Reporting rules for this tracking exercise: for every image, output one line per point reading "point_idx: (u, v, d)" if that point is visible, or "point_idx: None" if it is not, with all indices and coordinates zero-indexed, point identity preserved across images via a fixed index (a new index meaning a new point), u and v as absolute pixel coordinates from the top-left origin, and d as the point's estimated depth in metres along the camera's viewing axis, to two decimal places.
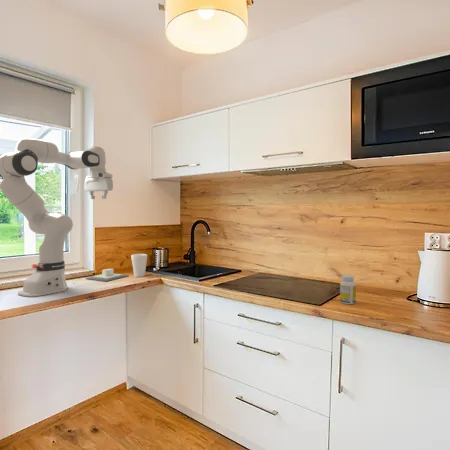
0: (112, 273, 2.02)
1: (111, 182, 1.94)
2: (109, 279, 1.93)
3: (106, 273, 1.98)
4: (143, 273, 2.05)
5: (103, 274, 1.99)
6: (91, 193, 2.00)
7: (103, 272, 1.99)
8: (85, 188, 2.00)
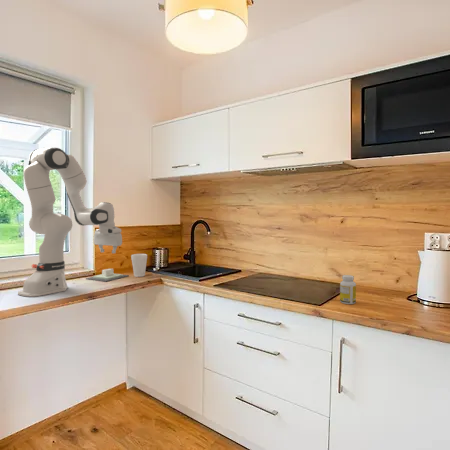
0: (112, 273, 2.02)
1: (120, 237, 1.97)
2: (109, 279, 1.93)
3: (106, 273, 1.98)
4: (143, 273, 2.05)
5: (103, 274, 1.99)
6: (100, 246, 2.03)
7: (103, 272, 1.99)
8: (94, 242, 2.03)
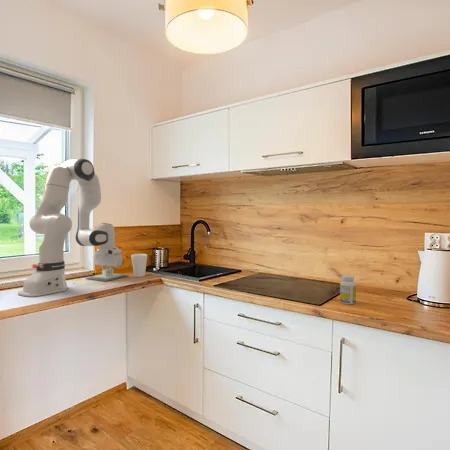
0: (112, 273, 2.02)
1: (120, 258, 1.97)
2: (109, 279, 1.93)
3: (106, 273, 1.98)
4: (143, 273, 2.05)
5: (103, 274, 1.99)
6: (103, 267, 2.02)
7: (103, 272, 1.99)
8: (94, 262, 2.03)
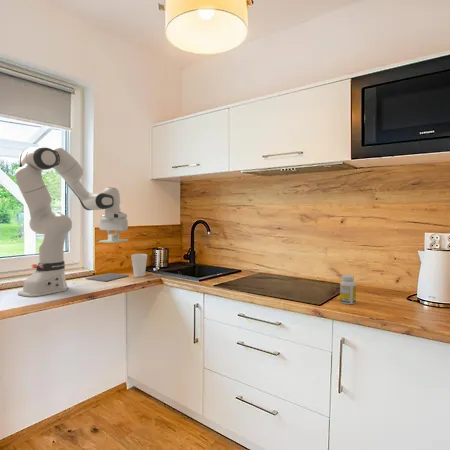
0: (118, 238, 2.03)
1: (126, 222, 1.97)
2: (109, 279, 1.93)
3: (112, 237, 1.99)
4: (143, 273, 2.05)
5: (109, 238, 1.99)
6: (109, 232, 2.03)
7: (109, 236, 1.99)
8: (100, 227, 2.03)
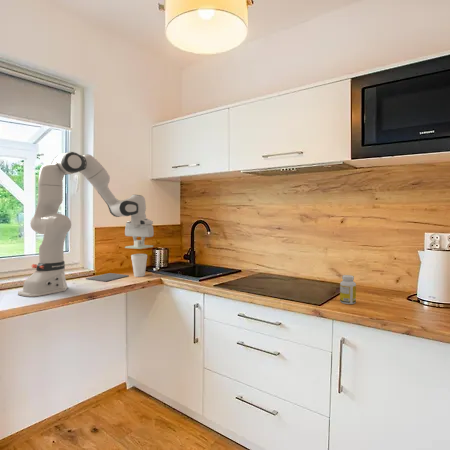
0: (143, 244, 2.07)
1: (152, 229, 2.02)
2: (109, 279, 1.93)
3: (138, 243, 2.03)
4: (143, 273, 2.05)
5: (135, 244, 2.03)
6: (135, 238, 2.07)
7: (135, 242, 2.03)
8: (126, 233, 2.08)
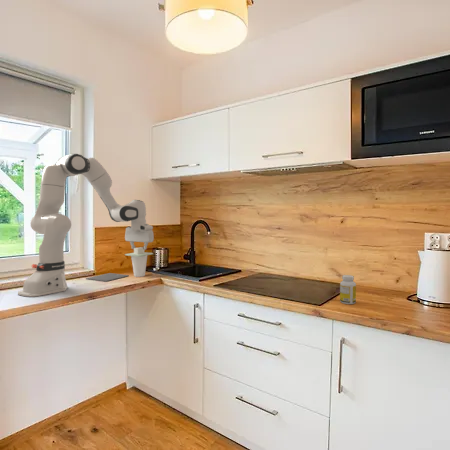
0: (143, 251, 2.07)
1: (152, 234, 2.02)
2: (109, 279, 1.93)
3: (138, 251, 2.03)
4: (143, 273, 2.05)
5: (135, 252, 2.04)
6: (132, 243, 2.08)
7: (135, 250, 2.03)
8: (126, 238, 2.08)
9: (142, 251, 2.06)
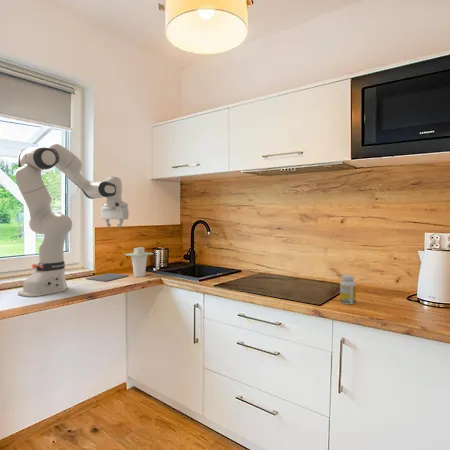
0: (143, 251, 2.07)
1: (127, 211, 2.00)
2: (109, 279, 1.93)
3: (138, 251, 2.03)
4: (143, 273, 2.05)
5: (135, 252, 2.04)
6: (107, 221, 2.06)
7: (135, 250, 2.03)
8: (101, 216, 2.06)
9: (142, 251, 2.06)
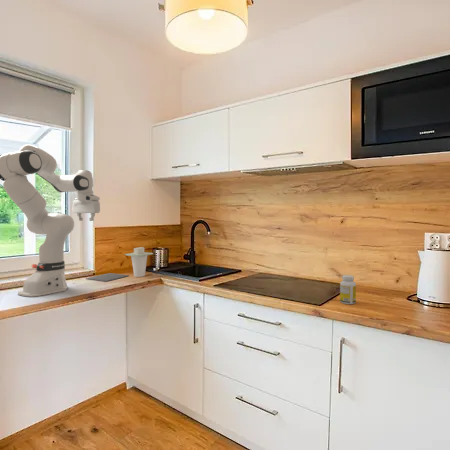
0: (143, 251, 2.07)
1: (98, 205, 1.98)
2: (109, 279, 1.93)
3: (138, 251, 2.03)
4: (143, 273, 2.05)
5: (135, 252, 2.04)
6: (79, 215, 2.05)
7: (135, 250, 2.03)
8: (73, 210, 2.04)
9: (142, 251, 2.06)
